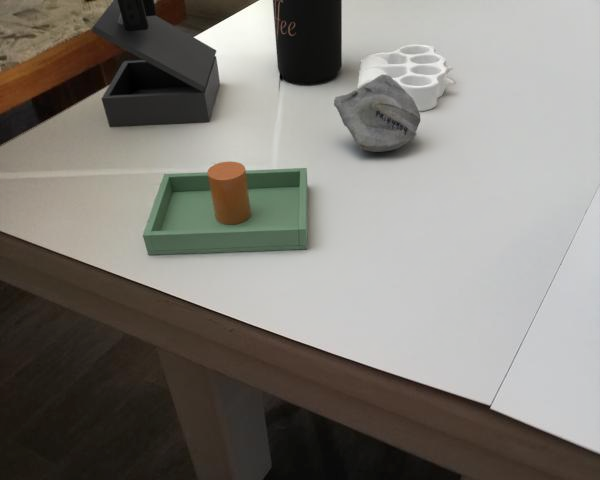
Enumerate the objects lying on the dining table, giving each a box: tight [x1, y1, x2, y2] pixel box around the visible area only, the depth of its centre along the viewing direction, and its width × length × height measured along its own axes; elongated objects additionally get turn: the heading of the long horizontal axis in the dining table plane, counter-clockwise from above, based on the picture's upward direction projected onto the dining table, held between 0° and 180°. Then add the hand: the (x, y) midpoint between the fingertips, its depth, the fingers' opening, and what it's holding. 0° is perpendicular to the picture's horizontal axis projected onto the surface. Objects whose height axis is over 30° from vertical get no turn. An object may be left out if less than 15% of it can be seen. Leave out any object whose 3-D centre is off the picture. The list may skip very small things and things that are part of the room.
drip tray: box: [142, 167, 309, 256], centre depth 68 cm, size 18×14×2 cm
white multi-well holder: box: [356, 43, 456, 112], centre depth 91 cm, size 3×18×15 cm
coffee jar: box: [272, 0, 343, 86], centre depth 92 cm, size 11×11×18 cm
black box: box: [101, 55, 221, 128], centre depth 90 cm, size 15×15×5 cm
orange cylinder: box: [207, 161, 251, 225], centre depth 67 cm, size 4×4×6 cm
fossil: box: [333, 75, 421, 153], centre depth 77 cm, size 11×9×8 cm
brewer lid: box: [91, 0, 217, 92], centre depth 83 cm, size 16×15×5 cm
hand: (141, 21), depth 83 cm, fingers closed on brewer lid, 5 cm apart
